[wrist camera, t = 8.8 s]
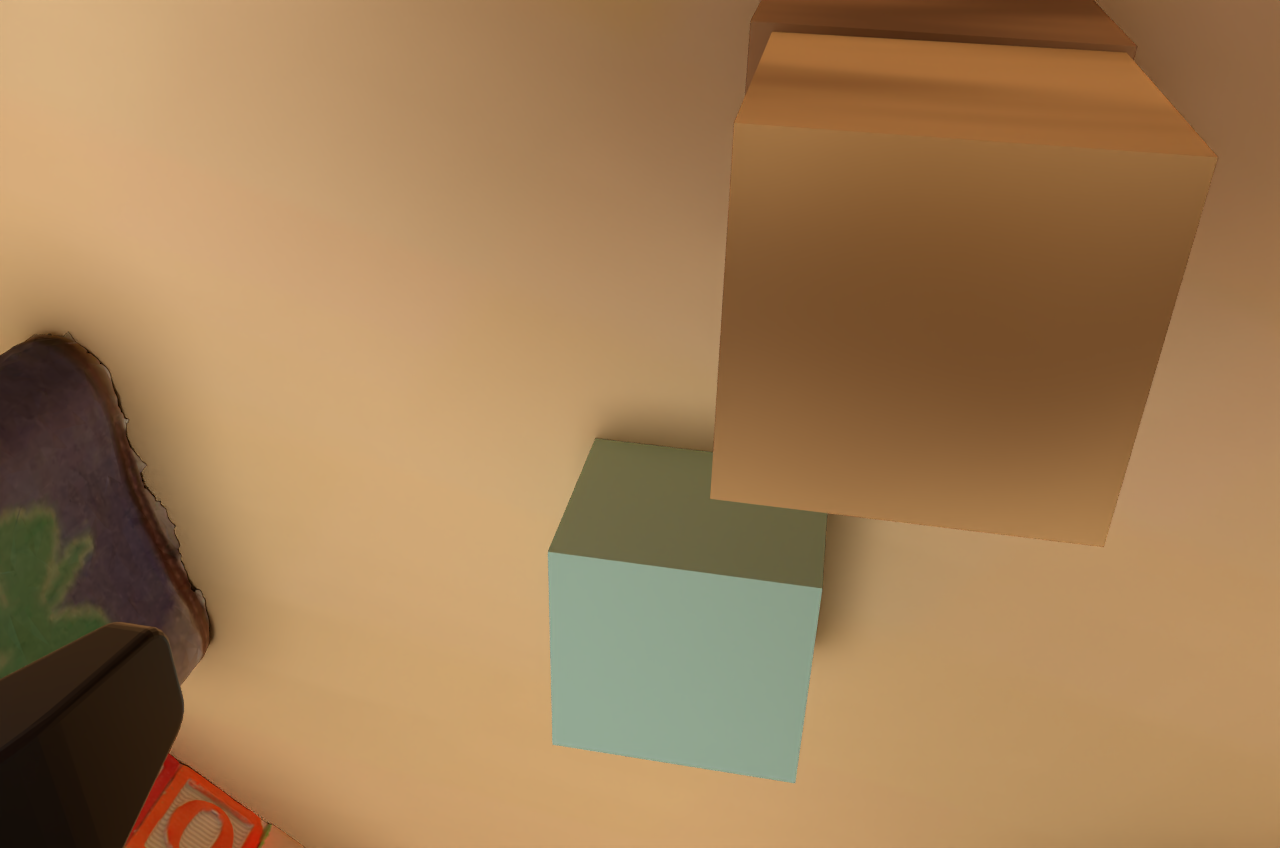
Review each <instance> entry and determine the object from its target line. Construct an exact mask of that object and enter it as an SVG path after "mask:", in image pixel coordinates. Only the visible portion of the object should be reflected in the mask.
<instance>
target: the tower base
mask: <svg viewBox="0 0 1280 848" xmlns="http://www.w3.org/2000/svg"><path fill="white" fill-rule="evenodd" d="M712 461H713V452H707V451H699V450H690V449H682V448H673V447H665V446H657V445H648V444H640V443H631V442H623V441H614V440H606V439H598V438H595V441H594V443H593V445H592V448H591V450H590V453H589V455H588V457H587V460H586V462H585V464H584V467H583V469H582V472H581V474H580V476H579V479H578V481H577V484H576V486H575V488H574V491H573V493H572V495H571V498H570V500H569V503H568V505H567V507H566V510H565V512H564V515H563V517H562V519H561V522H560V524H559V527H558V529H557V531H556V534H555V536H554V538H553V541H552V543H551V546H550V548H549V550H548V576H549V617H550V659H551V700H552V741H553V745H559V746H565V747H571V748H577V749H584V750H590V751H596V752H603V753H609V754H615V755H621V756H628V757H634V758H640V759H646V760H653V761H659V762H665V763H671V764H678V765H684V766H690V767H697V768H703V769H709V770H715V771H722V772H728V773H734V774H740V775H747V776H753V777H759V778H765V779H772V780H778V781H784V782H791V783H795V781H796V774H797V767H798V760H799V752H800V745H801V738H802V731H803V724H804V717H805V710H806V702H807V695H808V688H809V681H810V674H811V667H812V659H813V652H814V645H815V638H816V631H817V624H818V616H819V609H820V602H821V595H822V587H823V572H824V557H825V542H826V526H827V513H821V512H813V511H805V510H797V509H789V508H781V507H773V506H764V505H756V504H748V503H740V502H732V501H724V500H715V499H710V493H711V477H712Z"/></svg>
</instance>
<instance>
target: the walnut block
mask: <svg viewBox="0 0 1280 848" xmlns="http://www.w3.org/2000/svg"><path fill="white" fill-rule="evenodd" d="M772 32H786V33H803V34H820V35H837V36H854V37H871V38H889V39H906V40H923V41H940V42H957V43H974V44H991V45H1008V46H1025V47H1042V48H1059V49H1076V50H1093V51H1111V52H1127V54H1128V55H1129V56H1130V57H1131V58H1132V59H1133V61H1134V57H1135V53H1136V49H1137V46H1136V45H1135V44H1134V42H1133V41H1132V40H1131V39H1130V38H1129V37H1128V36H1127V35H1126V34H1125V33H1124V32H1123V31H1122V30H1121V29H1120V28H1119V27H1118V26H1117V25H1116V24H1115V23H1114V22H1113V21H1112V19H1111V18H1110V17H1109V16H1108V15H1107V14H1106V13H1105V12H1104V11H1103V10H1102V9H1101V8H1100V7H1099V6H1098V5H1097V4H1096V3H1095V2H1094V1H1093V0H761V2H760V4H759V6H758V8H757V10H756V12H755V14H754V16H753V18H752V20H751V23H750V36H749V49H748V62H747V76H746V89H745V95H746V93H747V91H748V88H749V86H750V83H751V81H752V79H753V76H754V74H755V71H756V69H757V67H758V64H759V62H760V59H761V57H762V55H763V52H764V50H765V47H766V45H767V43H768V40H769V38H770V35H771V33H772Z"/></svg>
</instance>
